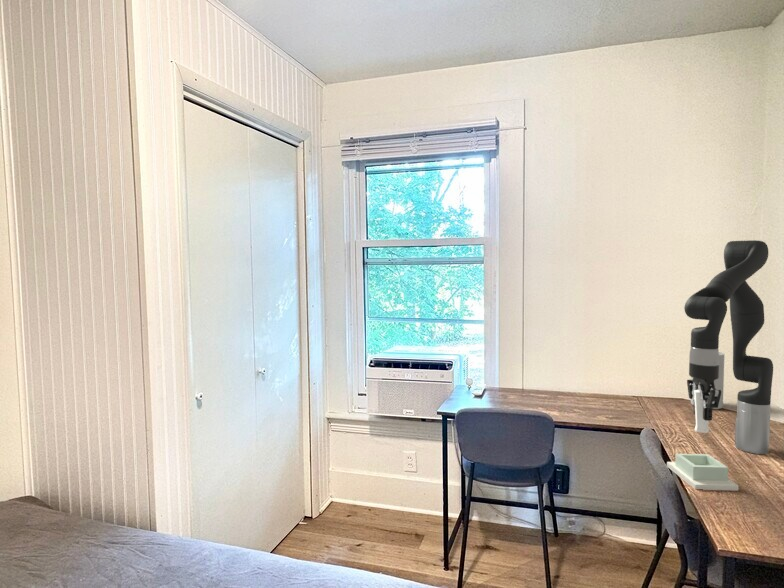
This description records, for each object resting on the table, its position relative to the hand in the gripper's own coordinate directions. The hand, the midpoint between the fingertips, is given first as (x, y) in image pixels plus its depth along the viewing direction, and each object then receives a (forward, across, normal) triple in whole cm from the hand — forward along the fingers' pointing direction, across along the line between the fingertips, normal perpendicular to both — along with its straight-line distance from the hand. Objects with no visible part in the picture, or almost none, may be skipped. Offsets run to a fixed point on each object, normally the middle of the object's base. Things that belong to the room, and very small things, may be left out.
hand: (702, 417), depth 142 cm
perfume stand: (+19, 0, 0) cm, 19 cm away
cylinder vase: (+19, +77, -46) cm, 92 cm away
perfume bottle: (+5, 0, 0) cm, 5 cm away
